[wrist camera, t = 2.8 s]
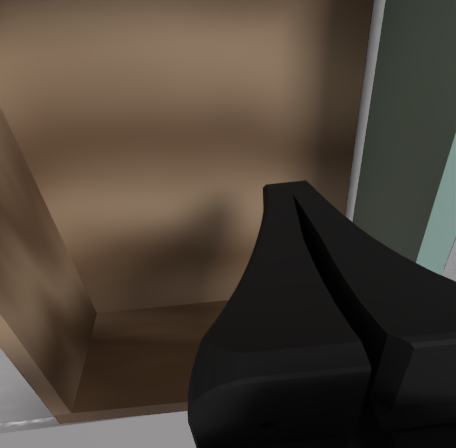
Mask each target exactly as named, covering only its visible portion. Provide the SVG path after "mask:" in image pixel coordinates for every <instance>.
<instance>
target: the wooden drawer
mask: <svg viewBox="0 0 456 448" xmlns="http://www.w3.org/2000/svg"><path fill="white" fill-rule="evenodd" d="M373 2H374V0H0V348H1V349H2V350H3V352H4V353H5V354H6V355H7V357H8V358H9V359H10V361H11V362H12V363H13V364H14V366H15V367H16V368H17V369H18V371H19V372H20V373H21V375H22V376H23V377H24V378H25V380H26V381H27V382H28V384H29V385H30V386H31V387H32V389H33V390H34V391H35V392H36V394H37V395H38V396H39V398H40V399H41V400H42V401H43V403H44V404H45V405H46V407H47V408H48V409H49V410H50V412H51V413H52V414H53V416H54V417H55V418H56V419H57V421H58V422H59V423H60V424H61V423H71V422H81V421H91V420H101V419H111V418H121V417H131V416H141V415H151V414H161V413H171V412H180V411H188V388H189V381H190V376H191V372H192V368H193V364H194V361H195V357H196V354H197V351H198V348H199V345H200V342H201V339H202V337H203V336H204V335H205V333H206V332H207V331H208V329H209V328H210V327H211V325H212V324H213V323H214V321H215V320H216V319H217V317H218V316H219V315H220V313H221V312H222V310H223V309H224V307H225V305H226V304H227V302H228V301H229V299H230V297H231V296H232V294H233V292H234V291H235V289H236V287H237V285H238V283H239V281H240V279H241V277H242V275H243V273H244V271H245V269H246V267H247V265H248V262H249V260H250V257H251V255H252V252H253V249H254V247H255V244H256V240H257V237H258V233H259V230H260V226H261V221H262V216H263V187H264V186H265V185H266V184H275V183H285V182H294V181H304V180H306V181H307V182H308V183H310V184H311V185H312V186H313V187H314V188H315V189H316V190H317V191H318V192H319V193H320V194H321V195H322V196H323V197H324V198H325V199H326V200H327V201H328V202H329V203H331V204H332V205H333V206H334V207H335V208H336V209H337V210H338V211H340V212H341V213H342V214H343V215H344V216H345V213H346V205H347V198H348V190H349V183H350V175H351V168H352V160H353V153H354V145H355V138H356V130H357V123H358V115H359V107H360V100H361V92H362V85H363V77H364V70H365V62H366V55H367V47H368V40H369V32H370V25H371V17H372V10H373Z"/></svg>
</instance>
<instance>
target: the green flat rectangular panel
mask: <svg viewBox="0 0 456 448" xmlns="http://www.w3.org/2000/svg"><path fill="white" fill-rule="evenodd" d="M353 223H354V224H355V225H357V226H358V227H359V228H361V229H362V230H363V231H365V232H366V233H367V234H369V235H370V236H372V237H373V238H375V239H376V240H377V241H379V242H381V243H382V244H384V245H385V246H387V247H389V248H390V249H392V250H394V251H395V252H397V253H399V254H400V255H402V256H404V257H406V258H407V259H409V260H411V261H413V262H415V263H417V264H419V265H421V266H423V267H425V268H427V269H429V270H431V271H433V272H435V273H437V274H440V275H442V272H443V270H444V268H445V266H446V263H447V260H448V258H449V255H450V252H451V250H452V247H453V244H454V242H455V239H456V0H386V2H385V9H384V16H383V22H382V29H381V36H380V42H379V49H378V56H377V62H376V69H375V76H374V83H373V89H372V96H371V103H370V109H369V116H368V123H367V129H366V136H365V143H364V149H363V156H362V163H361V169H360V176H359V183H358V189H357V196H356V203H355V209H354V216H353Z"/></svg>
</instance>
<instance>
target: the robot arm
mask: <svg viewBox="0 0 456 448" xmlns="http://www.w3.org/2000/svg"><path fill="white" fill-rule="evenodd" d="M188 423H189V426H190V429H191V432H192V435H193V438H194V441H195V444H196V447H197V448H456V282H455V281H453V280H451V279H448V278H446V277H444V276H442V275H440V274H437V273H435V272H433V271H431V270H429V269H427V268H425V267H423V266H421V265H419V264H417V263H415V262H413V261H411V260H409V259H407V258H406V257H404V256H402V255H400V254H399V253H397V252H395V251H394V250H392V249H390V248H389V247H387V246H385V245H384V244H382V243H381V242H379V241H377V240H376V239H375V238H373V237H372V236H370V235H369V234H367V233H366V232H365V231H363V230H362V229H361V228H359V227H358V226H357V225H355V224H354V223H353V222H351V221H350V220H349V219H348V218H347V217H345V216H344V215H343V214H342V213H341V212H340V211H338V210H337V209H336V208H335V207H334V206H333V205H332V204H331V203H329V202H328V201H327V200H326V199H325V198H324V197H323V196H322V195H321V194H320V193H319V192H318V191H317V190H316V189H315V188H314V187H313V186H312V185H311V184H310V183H308V182H307V181H306V180H304V181H294V182H285V183H275V184H266V185H265V186H264V187H263V216H262V221H261V226H260V230H259V233H258V237H257V240H256V244H255V247H254V249H253V252H252V255H251V257H250V260H249V262H248V265H247V267H246V269H245V271H244V273H243V275H242V277H241V279H240V281H239V283H238V285H237V287H236V289H235V291H234V292H233V294H232V296H231V297H230V299H229V301H228V302H227V304H226V305H225V307H224V309H223V310H222V312H221V313H220V315H219V316H218V317H217V319H216V320H215V321H214V323H213V324H212V325H211V327H210V328H209V329H208V331H207V332H206V333H205V335H204V336H203V337H202V339H201V342H200V345H199V348H198V351H197V354H196V357H195V361H194V364H193V368H192V372H191V376H190V381H189V388H188Z"/></svg>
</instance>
